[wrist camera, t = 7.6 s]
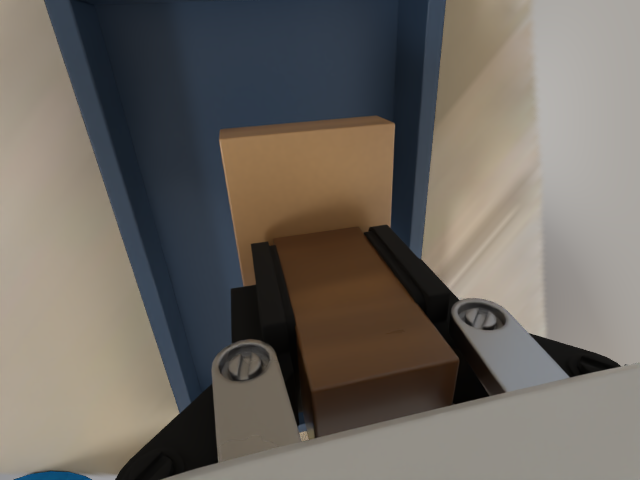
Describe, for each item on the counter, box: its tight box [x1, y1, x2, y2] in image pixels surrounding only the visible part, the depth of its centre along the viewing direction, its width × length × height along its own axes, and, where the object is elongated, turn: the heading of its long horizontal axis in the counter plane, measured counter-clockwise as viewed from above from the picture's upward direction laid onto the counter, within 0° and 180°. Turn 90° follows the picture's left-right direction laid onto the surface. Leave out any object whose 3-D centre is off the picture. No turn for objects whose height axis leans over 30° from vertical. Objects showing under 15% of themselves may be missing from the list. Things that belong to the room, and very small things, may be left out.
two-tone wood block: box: [219, 115, 460, 440], centre depth 10 cm, size 9×5×8 cm, turn 2°
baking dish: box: [44, 0, 446, 433], centre depth 21 cm, size 26×15×4 cm, turn 2°
